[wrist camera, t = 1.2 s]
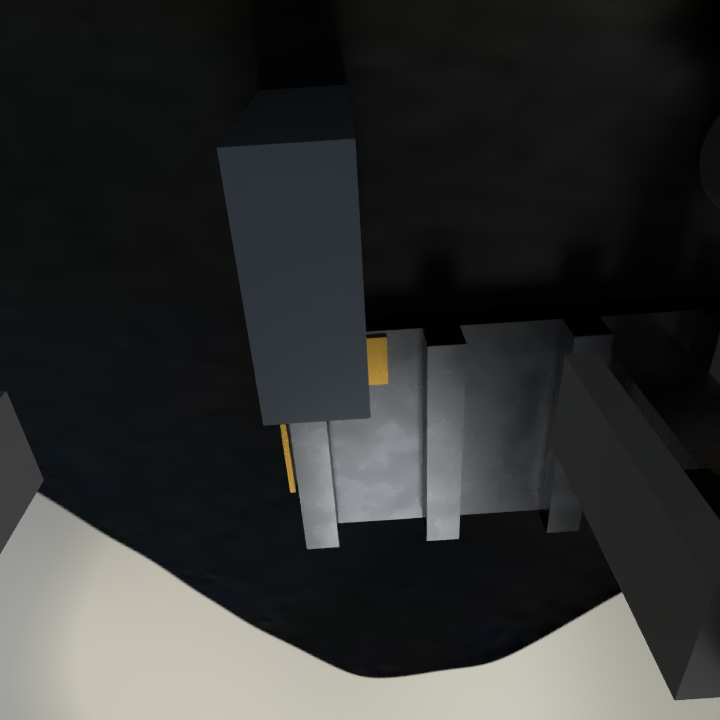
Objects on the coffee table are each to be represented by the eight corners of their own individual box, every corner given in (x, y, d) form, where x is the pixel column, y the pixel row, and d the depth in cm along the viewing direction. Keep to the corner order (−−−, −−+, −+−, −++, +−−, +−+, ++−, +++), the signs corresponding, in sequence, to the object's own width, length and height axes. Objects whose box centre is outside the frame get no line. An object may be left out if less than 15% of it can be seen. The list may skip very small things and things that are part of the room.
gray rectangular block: (259, 89, 28) (216, 147, 18) (346, 84, 28) (355, 138, 18) (284, 290, 33) (263, 425, 23) (358, 285, 33) (371, 418, 23)
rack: (274, 325, 34) (245, 496, 23) (727, 295, 34) (928, 450, 23) (300, 509, 41) (288, 710, 30) (674, 483, 41) (807, 674, 30)
